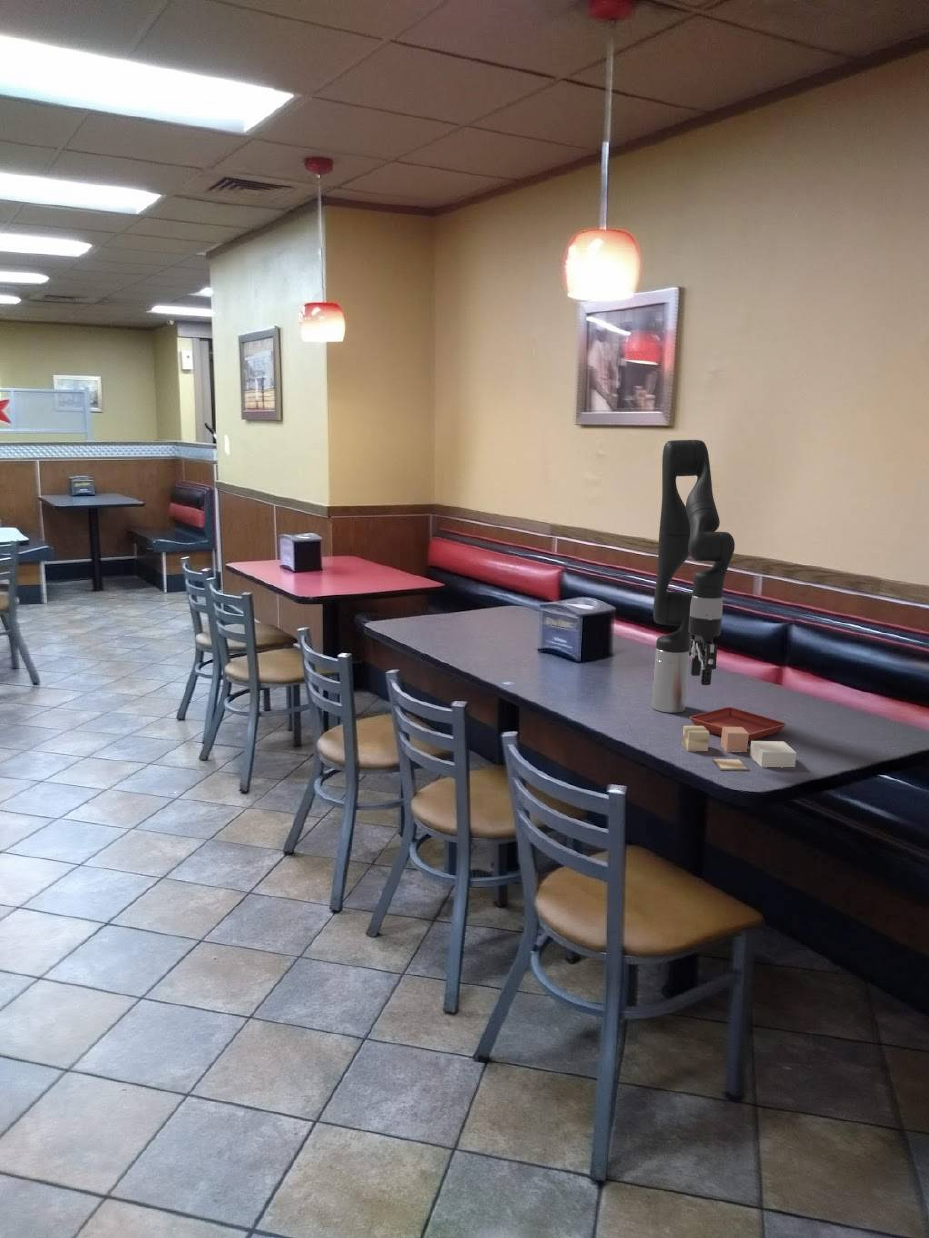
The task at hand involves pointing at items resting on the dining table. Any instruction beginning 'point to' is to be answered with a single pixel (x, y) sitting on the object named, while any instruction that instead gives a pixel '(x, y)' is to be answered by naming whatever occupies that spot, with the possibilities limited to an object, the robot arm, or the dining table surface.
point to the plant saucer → (737, 722)
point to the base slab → (772, 754)
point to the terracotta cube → (734, 739)
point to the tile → (730, 764)
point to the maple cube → (695, 738)
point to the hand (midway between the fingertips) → (700, 680)
